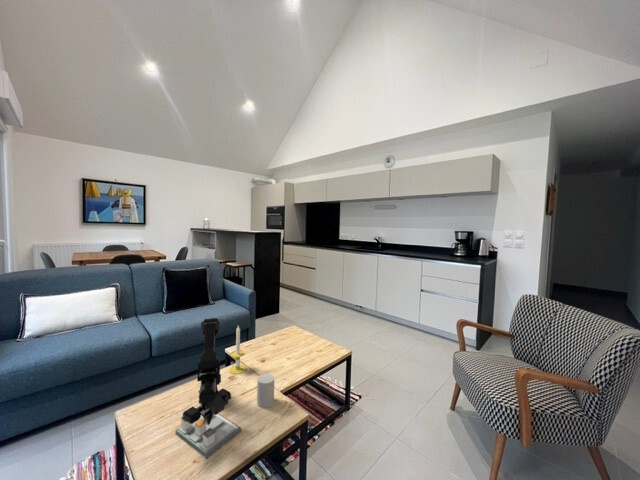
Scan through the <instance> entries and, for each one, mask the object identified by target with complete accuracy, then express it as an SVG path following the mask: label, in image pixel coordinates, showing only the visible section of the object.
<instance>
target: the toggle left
mask: <svg viewBox="0 0 640 480" xmlns="http://www.w3.org/2000/svg"><path fill="white" fill-rule="evenodd" d="M180 419H181V420H180V421H181V423H180V424H181V425H180V427H182V428H183V429H185V430H187V429H188V428H190V427H191V426H193V424H190V423H189V422H187V421H186V420H184V419H183V416H182V417H181V418H180Z"/></svg>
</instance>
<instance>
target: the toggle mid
mask: <svg viewBox="0 0 640 480" xmlns="http://www.w3.org/2000/svg"><path fill="white" fill-rule="evenodd" d="M205 431H206V421H205V420H203V419H200V420H199V421H197V422H195V433H196V434H197V435H199V436H200V435H202V434H203V433H204V432H205Z"/></svg>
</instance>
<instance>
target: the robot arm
mask: <svg viewBox="0 0 640 480" xmlns="http://www.w3.org/2000/svg"><path fill="white" fill-rule="evenodd" d="M220 322H221V320H220V319H218V317H211V318H204V319H203V321H201V323H200V330H201V331H202V334H203V336H204V344H203V352H202V353H201V354H200V357H199V361H198V363H197V380H196V381H197V382H200V387H199V390H198V404H200V405H199V406H197V407H195V406H191V407H190V408H188V409H186V410H184V411H183V412H182V417H183V419H184V420H186V421H187V422H189V423H190V424H193V423H194V422H196V421H197V420H199V419H200V417H201V415H202V416H203V418H204V420H205V421H206V424H207V425H209V424H210V422H211V420H212V417H213V414H214V415H217V414H218V413H219V414H220V413H221V412H222V411H224V410H225V408H226V407H225V406H227V405H228V404H229V401H230V400H231V399H232V393H231V391H229V390H227V389H226V388H224V387H223V388H221V389H218V385H219V386H220V384H221V383H222V377H221V376H222V375H221V361H220V360H219V358H218V357H217V356H218V353H217V352H216V336H217V335H218V333H219V329H220V327H221V323H220Z"/></svg>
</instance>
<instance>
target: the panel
mask: <svg viewBox="0 0 640 480" xmlns="http://www.w3.org/2000/svg"><path fill="white" fill-rule="evenodd" d="M200 419H203V420H204V418H203V416H202V415H201V417H200ZM200 419H199V420H200ZM199 420H197V421H199ZM197 421H196V422H197ZM209 428H211V429H212V430H213V431H215V442H213V443H212V444H211V445H210V446H208V447H207V446H206V445H204V444H203V434H202V435H200V436H199V435H197V434H196V433H195V422H194V423H193V426H191V427H190V428H188V429H187V430H185V429H183V428H182V427H181V426H180V427H178V428H177V429H175V435H176V436H178V437H179V438H180V439H181V440H183V441H184V442H185V443H187V445H189V446H190V447H191V448H193V449H194V450H195V451H197V452H198V453H199V454H201V455H202V456H203V457H204V458H205V459H209V458H210V457H211V456H212V455H214V454H215V453H216V452H217V451H219V450H220V449H221V448H222V447H224V446H225V445H226V444H227V443H228V442H230V441H231V440H232V439H233V438H235V437H236V436H238V435H239V433H241V432H242V427H241V426H240V425H238V424H237V423H235V422H233V421H232V420H230V419H228V418H227V417H225V416H224V415H222V414H220V412H219V413H218V414H217V415H214V414H213V417H212V420H211V422H210V424H209V425H207V424H206V430H208V429H209Z"/></svg>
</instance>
